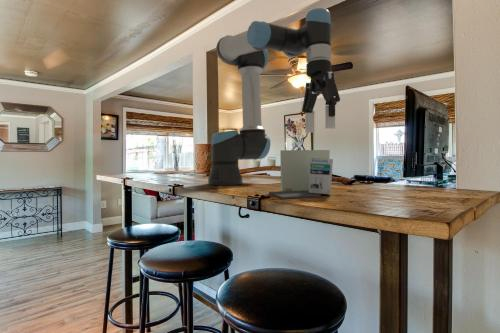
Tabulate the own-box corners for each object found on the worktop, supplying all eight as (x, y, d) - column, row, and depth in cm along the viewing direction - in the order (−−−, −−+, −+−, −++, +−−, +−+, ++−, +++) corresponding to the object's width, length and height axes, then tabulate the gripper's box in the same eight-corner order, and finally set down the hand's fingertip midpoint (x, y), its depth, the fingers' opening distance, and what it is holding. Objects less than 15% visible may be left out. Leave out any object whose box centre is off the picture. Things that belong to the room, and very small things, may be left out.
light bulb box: (331, 195, 86) (333, 158, 86) (308, 193, 87) (310, 157, 87) (328, 191, 97) (330, 159, 96) (307, 190, 98) (309, 158, 98)
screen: (279, 190, 101) (279, 150, 101) (326, 188, 106) (325, 150, 105) (283, 191, 98) (283, 150, 97) (331, 189, 102) (331, 149, 101)
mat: (269, 193, 93) (269, 191, 93) (303, 192, 96) (303, 190, 96) (282, 199, 82) (282, 197, 82) (321, 197, 84) (321, 195, 84)
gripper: (292, 73, 102) (292, 133, 102) (327, 46, 77) (328, 126, 78) (311, 74, 103) (312, 133, 104) (352, 48, 79) (353, 126, 80)
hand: (319, 130), depth 91 cm, fingers open, 13 cm apart
